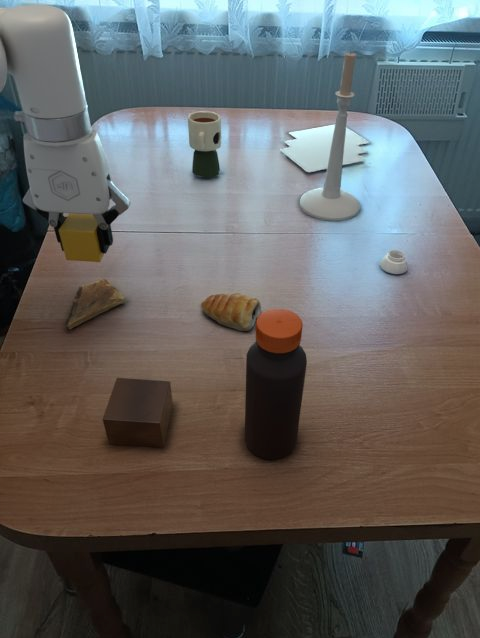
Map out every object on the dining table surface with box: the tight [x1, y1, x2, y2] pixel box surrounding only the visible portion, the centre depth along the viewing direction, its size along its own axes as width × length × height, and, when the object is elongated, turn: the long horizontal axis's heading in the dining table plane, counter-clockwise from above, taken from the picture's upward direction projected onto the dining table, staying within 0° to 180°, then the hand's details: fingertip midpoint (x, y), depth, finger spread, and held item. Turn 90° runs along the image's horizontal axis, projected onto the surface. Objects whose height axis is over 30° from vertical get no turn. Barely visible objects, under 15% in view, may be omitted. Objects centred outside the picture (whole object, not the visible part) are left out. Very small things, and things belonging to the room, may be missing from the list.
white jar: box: [379, 249, 409, 275], centre depth 99 cm, size 5×3×5 cm
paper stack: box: [278, 124, 371, 173], centre depth 137 cm, size 23×25×1 cm
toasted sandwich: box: [64, 278, 126, 330], centre depth 87 cm, size 11×8×2 cm
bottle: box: [244, 307, 308, 460], centre depth 63 cm, size 7×7×20 cm
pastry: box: [200, 292, 262, 332], centre depth 87 cm, size 9×7×4 cm
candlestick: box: [299, 52, 361, 222], centre depth 105 cm, size 13×13×30 cm
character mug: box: [187, 110, 222, 179], centre depth 120 cm, size 11×7×13 cm, turn 175°
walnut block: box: [102, 377, 174, 449], centre depth 69 cm, size 7×7×5 cm
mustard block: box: [59, 213, 105, 263], centre depth 79 cm, size 5×5×5 cm
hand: (86, 246), depth 80 cm, fingers closed on mustard block, 5 cm apart
